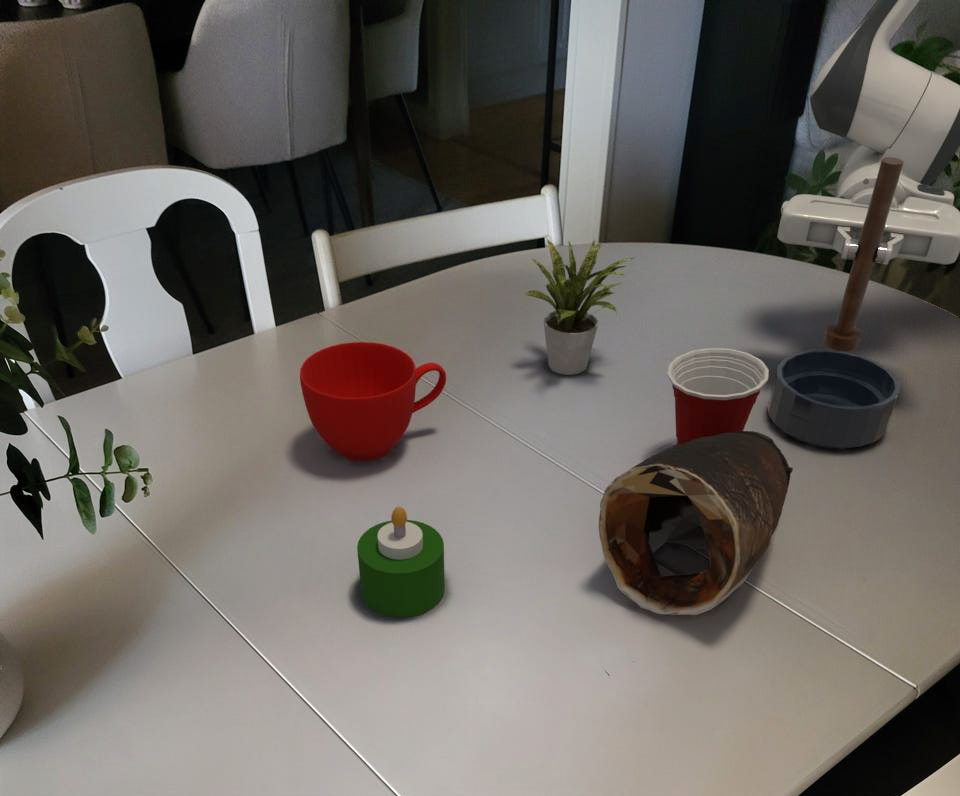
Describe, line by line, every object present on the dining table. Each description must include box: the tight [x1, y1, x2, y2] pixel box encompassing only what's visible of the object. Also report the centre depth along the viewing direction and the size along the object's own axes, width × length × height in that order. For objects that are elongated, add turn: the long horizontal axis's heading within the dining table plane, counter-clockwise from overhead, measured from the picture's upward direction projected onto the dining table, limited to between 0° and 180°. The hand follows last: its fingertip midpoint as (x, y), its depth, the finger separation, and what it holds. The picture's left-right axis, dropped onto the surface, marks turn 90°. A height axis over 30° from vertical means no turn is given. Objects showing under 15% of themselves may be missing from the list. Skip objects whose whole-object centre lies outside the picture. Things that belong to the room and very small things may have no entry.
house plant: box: [524, 238, 637, 376], centre depth 124 cm, size 14×14×16 cm
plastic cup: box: [667, 347, 769, 445], centre depth 110 cm, size 11×11×12 cm
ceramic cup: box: [299, 341, 447, 462], centre depth 113 cm, size 13×17×10 cm
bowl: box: [767, 349, 901, 450], centre depth 119 cm, size 14×14×6 cm
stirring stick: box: [822, 157, 904, 352], centre depth 109 cm, size 4×4×21 cm
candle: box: [356, 506, 446, 618], centre depth 93 cm, size 8×8×10 cm
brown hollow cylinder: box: [598, 430, 794, 616], centre depth 98 cm, size 15×15×25 cm
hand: (866, 255), depth 108 cm, fingers closed on stirring stick, 2 cm apart
